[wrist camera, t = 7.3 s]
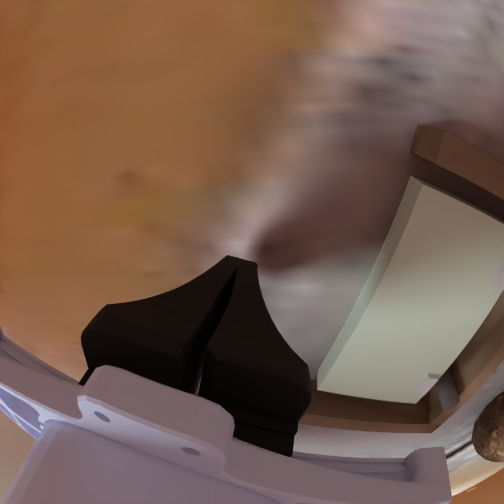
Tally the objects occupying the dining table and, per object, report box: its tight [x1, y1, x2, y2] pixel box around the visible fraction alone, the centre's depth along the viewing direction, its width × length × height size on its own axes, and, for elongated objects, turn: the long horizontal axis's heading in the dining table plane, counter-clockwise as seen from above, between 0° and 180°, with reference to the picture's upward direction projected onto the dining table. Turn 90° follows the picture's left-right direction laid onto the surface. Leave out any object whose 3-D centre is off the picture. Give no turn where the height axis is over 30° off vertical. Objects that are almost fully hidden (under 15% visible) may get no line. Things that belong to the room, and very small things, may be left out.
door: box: [317, 176, 504, 404], centre depth 13 cm, size 12×7×2 cm, turn 167°
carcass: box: [299, 125, 504, 433], centre depth 12 cm, size 16×10×3 cm, turn 168°
